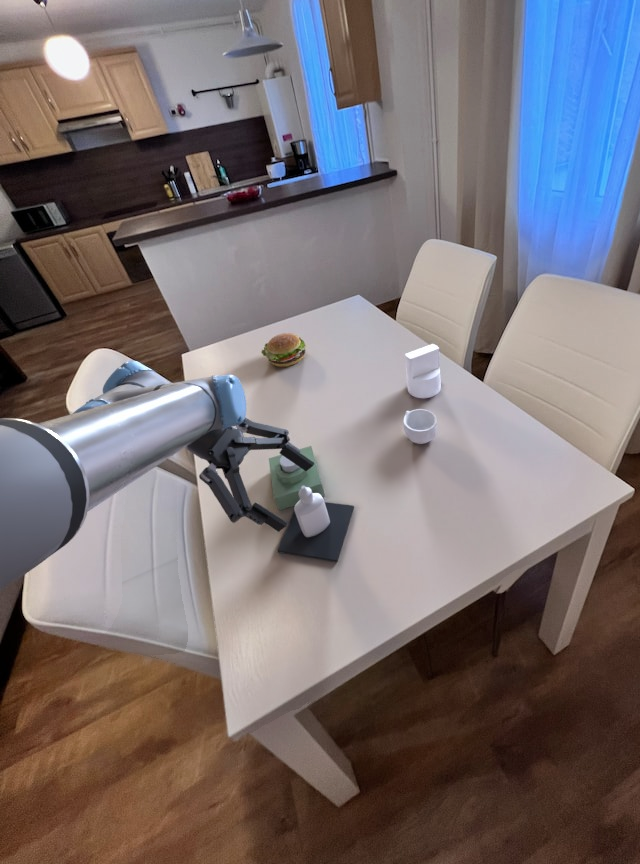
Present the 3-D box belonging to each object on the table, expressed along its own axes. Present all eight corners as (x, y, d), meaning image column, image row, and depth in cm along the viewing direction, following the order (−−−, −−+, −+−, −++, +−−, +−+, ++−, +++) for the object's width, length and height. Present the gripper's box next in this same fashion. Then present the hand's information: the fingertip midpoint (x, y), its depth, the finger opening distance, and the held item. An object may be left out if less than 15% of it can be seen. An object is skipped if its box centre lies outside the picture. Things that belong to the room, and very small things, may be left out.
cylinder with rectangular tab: (418, 402, 106) (415, 364, 99) (401, 385, 113) (398, 349, 106) (447, 390, 109) (446, 353, 102) (429, 375, 116) (427, 338, 109)
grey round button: (303, 469, 85) (301, 462, 84) (283, 475, 84) (280, 469, 83) (300, 455, 88) (298, 448, 87) (280, 461, 88) (278, 454, 86)
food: (261, 356, 138) (254, 336, 133) (299, 343, 141) (294, 323, 137) (271, 375, 127) (264, 354, 122) (312, 360, 131) (307, 339, 126)
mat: (337, 562, 73) (336, 560, 72) (277, 552, 76) (276, 550, 76) (354, 507, 82) (353, 505, 82) (300, 500, 85) (299, 498, 85)
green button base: (325, 496, 85) (319, 477, 82) (278, 510, 84) (271, 492, 80) (314, 457, 95) (309, 439, 91) (273, 470, 93) (266, 452, 90)
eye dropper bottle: (330, 535, 77) (318, 494, 70) (301, 539, 77) (286, 499, 70) (330, 515, 80) (319, 475, 73) (302, 519, 81) (288, 479, 74)
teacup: (444, 439, 94) (443, 422, 91) (416, 453, 92) (415, 436, 88) (419, 417, 101) (418, 400, 98) (393, 429, 99) (392, 412, 96)
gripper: (226, 395, 81) (310, 454, 85) (144, 495, 62) (258, 564, 66) (241, 375, 76) (329, 438, 81) (158, 475, 57) (280, 551, 62)
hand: (297, 495), depth 73 cm, fingers open, 13 cm apart
